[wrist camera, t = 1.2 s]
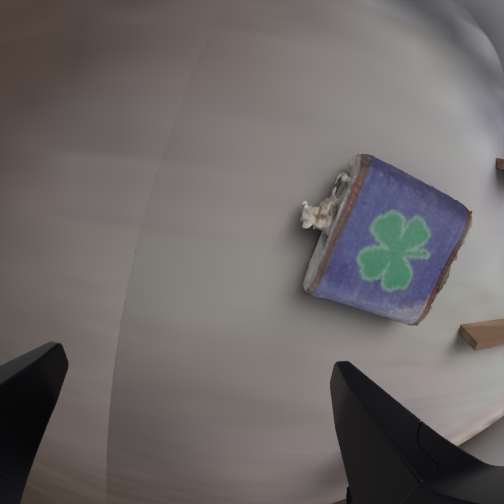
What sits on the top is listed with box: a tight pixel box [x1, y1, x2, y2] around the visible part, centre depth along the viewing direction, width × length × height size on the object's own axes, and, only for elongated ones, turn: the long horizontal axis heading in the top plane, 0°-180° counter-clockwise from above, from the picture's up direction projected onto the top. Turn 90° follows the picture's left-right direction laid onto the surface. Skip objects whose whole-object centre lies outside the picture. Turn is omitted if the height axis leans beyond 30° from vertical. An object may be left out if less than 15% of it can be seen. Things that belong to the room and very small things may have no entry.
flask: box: [300, 154, 472, 326], centre depth 18 cm, size 9×3×11 cm
